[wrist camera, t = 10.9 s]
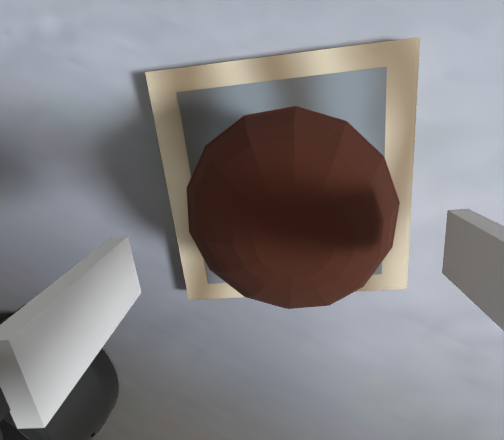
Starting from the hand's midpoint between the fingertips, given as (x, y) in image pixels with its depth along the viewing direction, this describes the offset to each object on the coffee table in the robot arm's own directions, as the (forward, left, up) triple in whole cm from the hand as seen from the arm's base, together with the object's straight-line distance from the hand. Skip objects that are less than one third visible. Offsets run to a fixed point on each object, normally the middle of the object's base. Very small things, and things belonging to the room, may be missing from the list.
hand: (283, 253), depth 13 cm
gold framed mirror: (0, 0, -13) cm, 13 cm away
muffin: (0, 0, -11) cm, 11 cm away
